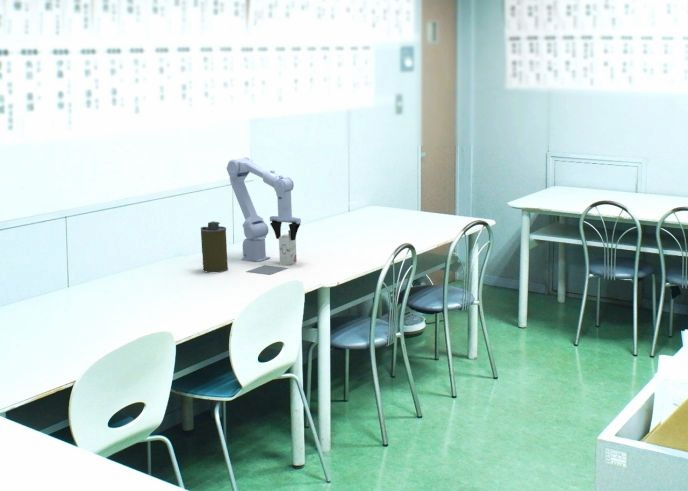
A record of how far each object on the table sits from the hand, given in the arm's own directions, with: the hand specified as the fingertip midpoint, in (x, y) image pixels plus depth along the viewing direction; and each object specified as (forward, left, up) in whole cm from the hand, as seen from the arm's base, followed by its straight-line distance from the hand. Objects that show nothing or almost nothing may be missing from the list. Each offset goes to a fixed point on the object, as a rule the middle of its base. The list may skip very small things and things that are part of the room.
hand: (285, 239), depth 413 cm
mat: (0, -13, -10) cm, 17 cm away
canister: (-21, -22, -11) cm, 32 cm away
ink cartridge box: (0, +2, -11) cm, 11 cm away
